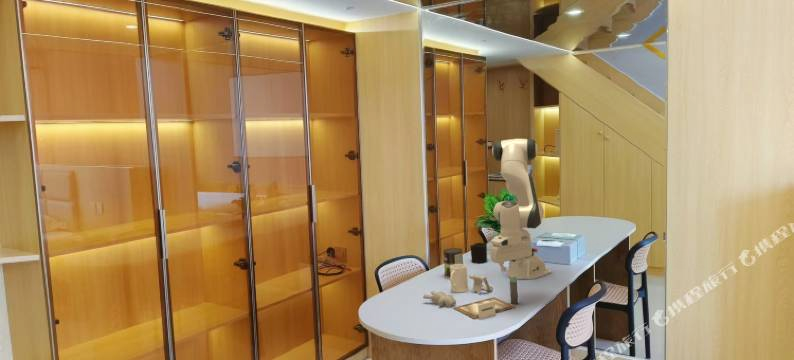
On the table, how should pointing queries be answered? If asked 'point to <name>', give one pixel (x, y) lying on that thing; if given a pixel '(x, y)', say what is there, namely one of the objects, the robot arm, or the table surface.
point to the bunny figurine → (441, 299)
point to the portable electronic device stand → (480, 283)
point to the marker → (513, 290)
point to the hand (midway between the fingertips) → (512, 269)
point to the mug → (458, 278)
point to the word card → (486, 309)
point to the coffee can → (452, 259)
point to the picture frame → (472, 308)
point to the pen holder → (479, 253)
